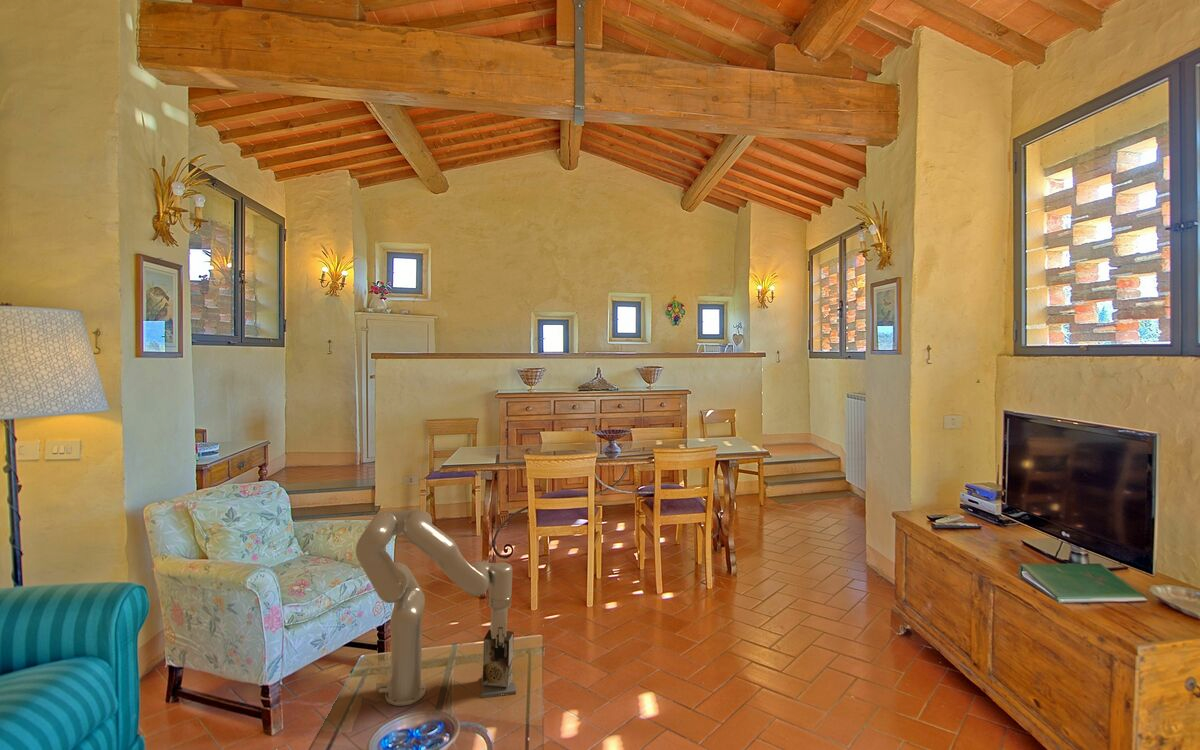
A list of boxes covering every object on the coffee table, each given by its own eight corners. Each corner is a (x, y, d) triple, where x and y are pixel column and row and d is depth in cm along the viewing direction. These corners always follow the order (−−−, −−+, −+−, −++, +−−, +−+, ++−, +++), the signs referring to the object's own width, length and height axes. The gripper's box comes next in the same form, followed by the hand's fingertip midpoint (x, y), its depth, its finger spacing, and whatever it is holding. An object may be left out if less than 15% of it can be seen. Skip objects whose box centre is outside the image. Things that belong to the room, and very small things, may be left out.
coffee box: (513, 676, 189) (514, 631, 188) (508, 687, 182) (509, 640, 182) (487, 673, 190) (489, 628, 189) (481, 685, 183) (483, 638, 183)
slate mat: (482, 697, 180) (482, 694, 179) (481, 677, 190) (481, 675, 190) (515, 693, 182) (515, 691, 182) (512, 674, 193) (513, 671, 193)
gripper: (487, 590, 192) (486, 638, 193) (490, 613, 175) (488, 667, 176) (509, 588, 194) (507, 636, 195) (513, 612, 177) (511, 664, 178)
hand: (498, 650), depth 186 cm, fingers closed on coffee box, 7 cm apart
